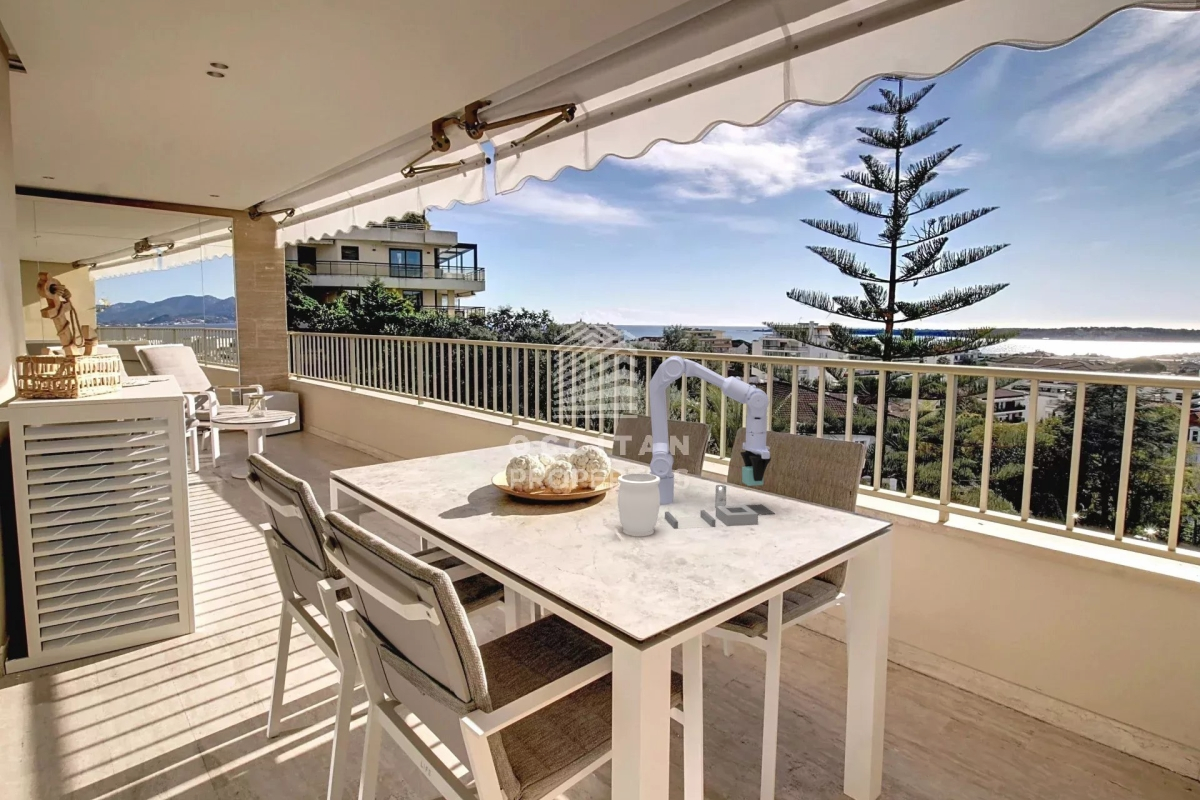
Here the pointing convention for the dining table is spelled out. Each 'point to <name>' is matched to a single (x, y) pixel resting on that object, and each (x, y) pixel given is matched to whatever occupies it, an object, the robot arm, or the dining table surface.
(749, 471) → the block
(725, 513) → the grey blocks
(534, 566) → the dining table surface
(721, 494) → the rod
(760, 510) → the pad
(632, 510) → the jar
